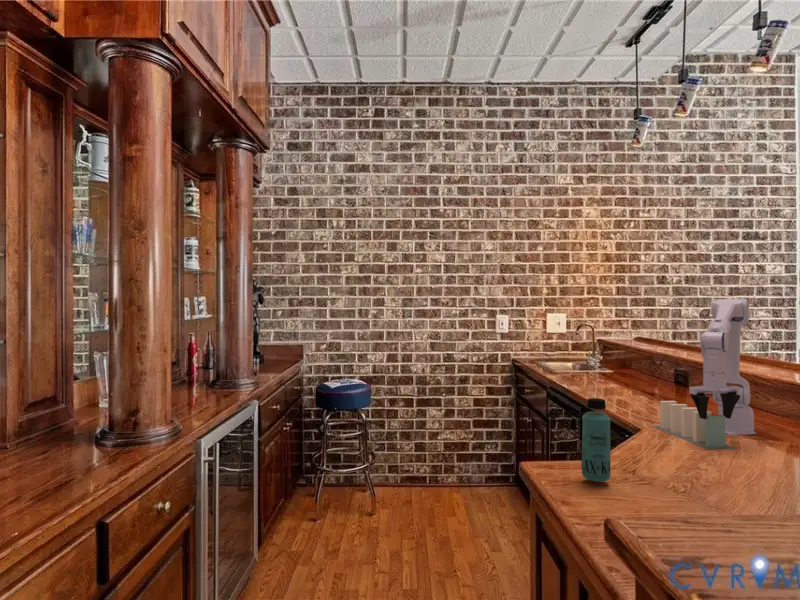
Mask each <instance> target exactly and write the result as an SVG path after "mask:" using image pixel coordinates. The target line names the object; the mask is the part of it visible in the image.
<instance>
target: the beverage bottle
mask: <svg viewBox="0 0 800 600" xmlns="http://www.w3.org/2000/svg"><path fill="white" fill-rule="evenodd" d="M586 408H588V409H591V410H605V409H607V406H606V400H605V399H603V398H596V397H590V398H588V399H587V405H586ZM581 419H582V431H581V432H582V433H581V434H582V436H581V437H582V438H581V462H580V463H581V471H580V472H581V475H582V476H583V477H582V478H584V479H586V480H589V481H594V482H607V481H609V480H610V479H611V472H612V471H611V454H612V453H611V450H612V448H611V442H612V439H611V417H610V416H609V415H608V414H606V413H605V412H603V411H602V412H601V411H587V412H586V413H585V414H583V415H582V417H581Z"/></svg>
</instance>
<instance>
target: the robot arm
mask: <svg viewBox="0 0 800 600" xmlns="http://www.w3.org/2000/svg"><path fill="white" fill-rule="evenodd" d="M710 305H711V307H710V311H711V312H710V313H711V315H712V317H713V319H712V320H711V321H710V322H709V324H708V327H707V328H706V329H707V330H706V331H704V333H703V332H702V333H701V334H700V340H699V343H700V349H701V357H702V359H703V360H702V361H703V362H702V367H703V368H702V373H703V374H702V375H703V378H702V379H703V385H697V386H689V389H688V390H689V394H690V398H691V399H692V401H693V403H694V405H695V407H696V408H697V410H698V414H699V417H700V418H702V419H706V418H707V411H708V404H709V401H710V396H707V395H712V399H713V401H714V402H715V403H716V405H718V415H722V416H725V435H729V436H735V435H756V434H757V432H755V413H754V410H753V409H752V408H751V406H749V405H750V402H751V389H750V388H751V387H750V386H751V385H750V382H749V381H748V380H747V379H745V378H744V377H742V376H741V375H740V370H741V369H740V365H741V333H742V328H743V326H746V325H749V321H750V303H749V300H748V299H747V298H719V299H717V298H713V299H712V301H711V304H710Z"/></svg>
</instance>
